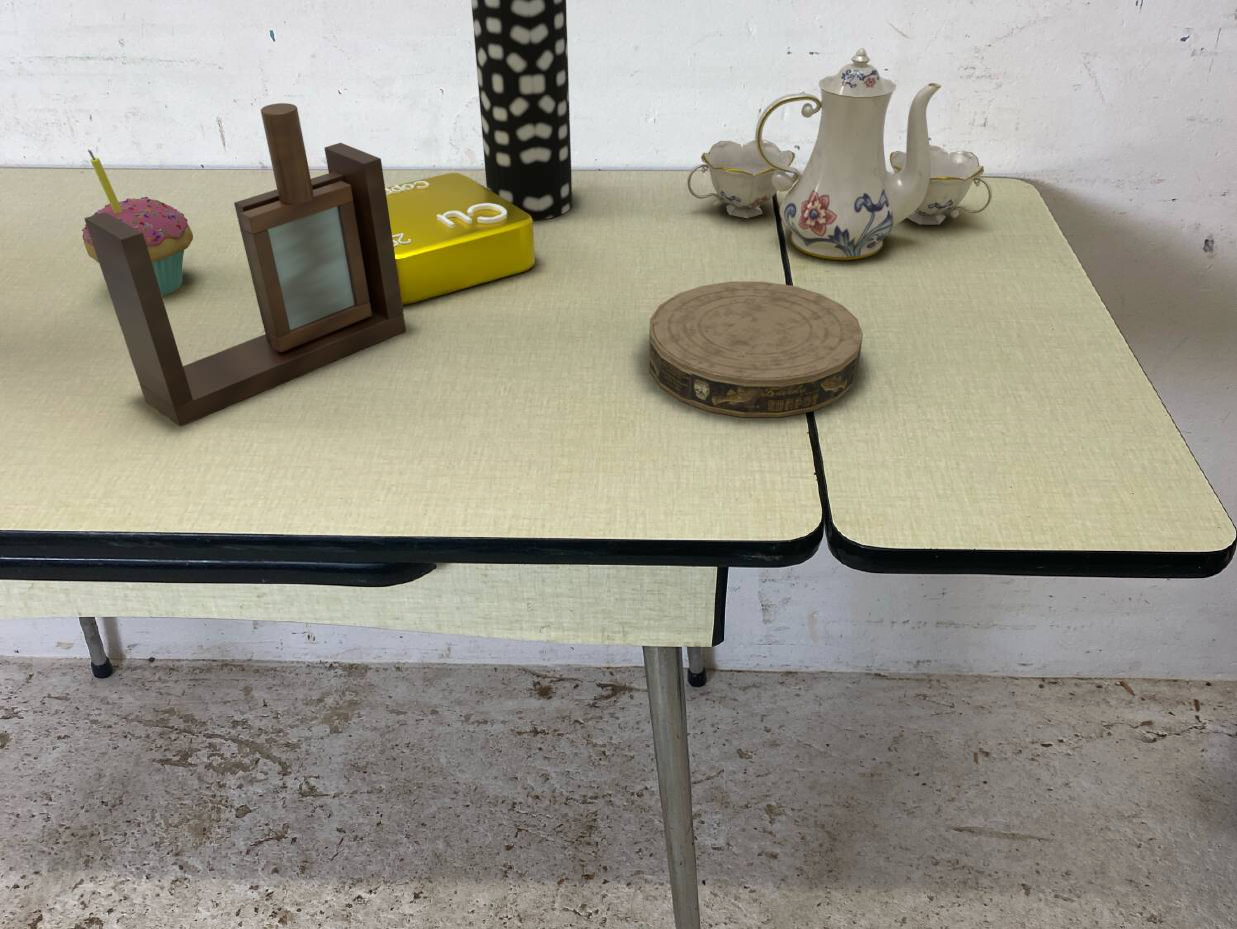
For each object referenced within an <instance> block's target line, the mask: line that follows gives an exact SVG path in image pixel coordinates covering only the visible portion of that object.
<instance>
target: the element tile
mask: <svg viewBox="0 0 1237 929" xmlns="http://www.w3.org/2000/svg"><path fill="white" fill-rule="evenodd" d="M385 190H386V197H387V204H388V211H389V218H390V225H391V231H392V238H393V245H394V252H395V259H396V266H397V273H398V280H399V287H400V293H401V300H402V306H403V305H411V304H414V303H418V302H422V301H425V300H428V299H432V298H436V297H439V296H443V295H446V294H450V293H454V292H457V291H460V290H465V289H468V288H471V287H475V286H478V285H482V284H485V283H489V282H492V281H496V280H499V279H503V278H506V277H510V276H514V275H517V274H520V273H523V272H526V271H528V270H530V269H531V268H532V267H533V266H534V265H535V262H536V254H535V238H534V236H535V235H534V234H535V233H534V220H532V218H531V216H530V215H529V214H528V213H526V212H524V211H523V210H521V209H520V208H518V207H516V206H515V205H513V204H511V203H510V202H508V201H507V200H505V199H503V198H502V197H500V196H498V195H497V194H495V193H494V192H492V191H490V190H489V189H487V187H486V186H484V185H482V184H481V183H480V182H477V181H476V180H474V179H473V178H471V177H469V176H467V175H465V174H462V173H459V172H450V173H444V174H440V175H435V176H430V177H426V178H422V179H418V180H414V181H409V182H405V183H400V184H395V185H392V186H388V187H386V186H385Z"/></svg>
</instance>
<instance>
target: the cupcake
mask: <svg viewBox="0 0 1237 929" xmlns="http://www.w3.org/2000/svg"><path fill="white" fill-rule="evenodd" d="M87 152H88V153H89V155H90V158H91V159H90V163H91V165H92V167H93V169H94V172H95V174H96V176H97V179H98V180H99V182H100V185H101V187H102V189H103V191H104V194H105V195H106V198H107V200H108V202H109V203H108V204H105V205H104V207H103V208H100V209H98V210H97V211H96V212H94V213H93V214H92V215H91V216H93V215H97V214H100V213H104V212H107V213H108V214H110V215H112V216H114V217H115V218H117V219H119V220H121V221H123V222H124V223H126V224H128V225H130V226H132V227H133V228H135V229H137V230H139V231H140V232H142V233H143V235H144V238H145V242H146V245H147V248H148V252H149V255H150V258H151V262H152V265H153V268H154V272H155V275H156V278H157V282H158V285H159V288H160V292H161V295H162V297H163V296H165V295H169V294H171V293H172V292H175V291H176V290H178V289H179V288H180V287H181V285H182V283H183V264H184V254H185V250H187V249H188V248H189V247H190V245H191V243H192V242H193V239H194V234H193V231H192V229H191V226H190V225H189V223H188V219H187V218H186V217H185V214H184V213H182V212H181V211H179V210H178V209H177V208H174V207H173V206H171V205H168V204H167V203H164V202H162V201H159V200H158V199H153V198H149V197H147V196H145V197H140V198H134V197H133V198H129V197H128V198H126V200H122V201H119V199H118V198H117V195H116V193H115V191H114V188H113V187H112V184H111V182H110V180H109V178H108V176H107V175H108V174H107V173H106V172H105V168H104V166H103V165H102V162H101V160H100V158H99V157H95V156H94V153H93V152H92V150H91V149H87ZM81 231H82V240H83V244H84V248H85V250H86V253H87V254H88V256H89V257H90V258H91V259H93V260H94V261H95V262H97V263H98V264H99V261H98V258H97V255H96V252H95V249H94V246H93V243H92V240H91V237H90V234H89V231H88V228H87V225H86V223H84V227H83V228H82V230H81Z"/></svg>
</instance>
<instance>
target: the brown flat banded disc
mask: <svg viewBox="0 0 1237 929" xmlns="http://www.w3.org/2000/svg"><path fill="white" fill-rule="evenodd" d="M863 337H864V333H863V331H862V327H861V325H860V322H859V319H858V318H857V317H856V316H855V315H854V314H853V313H851V311H850V310H848V309H847V307H846V306H844V305H843V304H841V303H839V302H838V301H835V300H834V299H832V298H830V297H828V296H825V295H824V294H822V293H819V292H815V291H813V290H810V289H809V290H808V289H805V288H802V287H799V286H795V285H789V284H782V283H774V282H768V281H725V282H719V283H712V284H705V285H701V286H698V287H694V288H691V289H688V290H685V291H682V292H679V293H677V294H674V295H673V296H672V297H670V298H669V299H667V300H666V301H664V302H663V303H661V304H659V306H657V308H656V309H655V311H654V313H653V314H652V315H651V317H650V319H649V341H648V342H649V344H648V346H649V349H648V351H649V352H648V353H649V354H648V358H649V359H648V361H649V362H648V363H649V373H650V374H651V376H652V377H653V379H654V380H655V381H656V383H657V384H658V386H659V388H661V389H662V390H664V391H666V392H667V393H668V394H669V395H671V396H673V397H674V398H675V399H677V400H679V401H680V402H682V403H685V404H688V405H690V406H693V407H696V408H698V409H702V410H704V411H707V412H710V413H716V414H720V415H726V416H727V415H728V416H733V417H739V418H783V417H788V416H789V417H790V416H795V415H799V414H801V415H802V414H805V413H811V412H813V411H815V410H818V409H820V408H823V407H825V406H826V407H827V405H831V404H833V403H835V402H837V401H838V400H839V399H840V398H842V396H844V395H845V394H846V393H847V392H848V391H849V390H851V389H852V388H853V385H854V382H855V379H856V376H857V373H858V369H859V363H860V356H861V351H862V350H861V349H862V344H863V339H864V338H863Z"/></svg>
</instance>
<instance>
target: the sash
mask: <svg viewBox="0 0 1237 929" xmlns="http://www.w3.org/2000/svg"><path fill="white" fill-rule="evenodd" d="M260 115H261V120H262V124H263V130H264V135H265V139H266V144H267V148H268V153H269V157H270V164H271V166H272V167H271V168H272V171H273V177H274V181H275V186H276V189H277V191H278V196H279V200H280V201H277V202H274V203H271V204H267V205H264V206H261V207H258V208H255V209H252V210H248V211H245V212H242V213H241V218H242V222H243V226H244V231H245V235H246V240H247V244H248V248H249V252H250V256H251V261H252V265H253V269H254V273H255V277H256V282H257V286H258V290H259V294H260V299H261V303H262V307H263V311H264V315H265V320H266V324H267V328H268V332H269V336H270V340H271V344H272V347H273V348H274V349H275V350H277V351H279V352H284V351H286V350H289V349H291V348H294V347H296V346H299V345H301V344H304V343H306V342H308V341H311V340H313V339H316V338H318V337H321V336H323V335H326V334H328V333H331V332H333V331H336V330H338V329H341V328H343V327H345V326H348V325H350V324H353V323H355V322H358V321H360V320H363V319H365V318H368V317H370V316H372V311H371V305H370V302H369V301H370V300H369V293H368V287H367V281H366V275H365V269H364V263H363V257H362V251H361V245H360V239H359V233H358V227H357V221H356V215H355V209H354V203H353V197H352V190H351V185H349V184H347V183H345V182H342V181H340V182H337V183H334V184H330V185H327V186H324V187H321V188H318V189H315V190H313V188H312V183H311V179H312V177H311V174H310V166H309V164H308V163H309V161H308V156H307V152H306V146H305V141H304V136H303V131H302V125H301V120H300V114H299V109H298V107H297V105H295V104H294V103H286V102H280V103H279V102H278V103H272V104H268V105H265V106H263V107H262V108H260Z"/></svg>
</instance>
